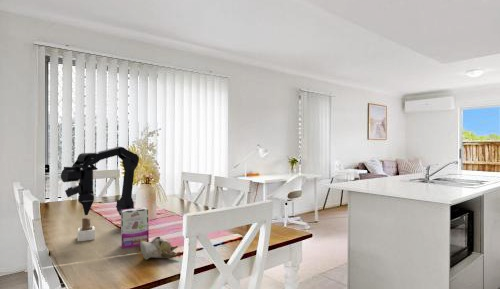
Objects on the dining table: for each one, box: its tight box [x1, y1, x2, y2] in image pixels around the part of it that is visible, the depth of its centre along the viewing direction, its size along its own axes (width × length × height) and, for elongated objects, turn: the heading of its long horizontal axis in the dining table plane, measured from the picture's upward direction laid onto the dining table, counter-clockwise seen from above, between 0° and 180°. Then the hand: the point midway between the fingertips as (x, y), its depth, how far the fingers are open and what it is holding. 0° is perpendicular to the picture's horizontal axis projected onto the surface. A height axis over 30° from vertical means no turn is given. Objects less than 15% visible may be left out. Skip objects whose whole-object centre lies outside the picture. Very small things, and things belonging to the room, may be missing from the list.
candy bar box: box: [120, 206, 150, 249], centre depth 136 cm, size 11×5×16 cm, turn 117°
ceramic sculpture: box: [139, 236, 180, 260], centre depth 123 cm, size 11×9×15 cm
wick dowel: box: [81, 217, 91, 231], centre depth 145 cm, size 3×3×9 cm
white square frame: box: [77, 225, 96, 242], centre depth 145 cm, size 7×7×4 cm
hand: (86, 213), depth 145 cm, fingers open, 9 cm apart
